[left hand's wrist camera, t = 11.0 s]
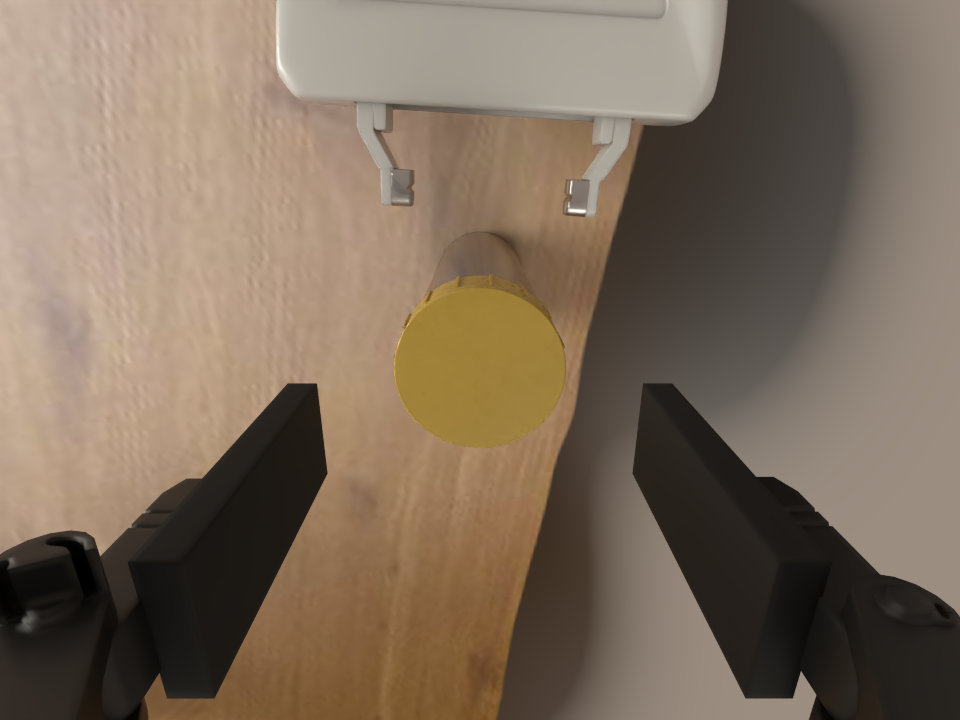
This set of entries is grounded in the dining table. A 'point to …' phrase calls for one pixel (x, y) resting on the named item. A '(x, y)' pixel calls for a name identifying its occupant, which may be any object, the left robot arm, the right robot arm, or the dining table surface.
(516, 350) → the lid
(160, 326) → the dining table surface
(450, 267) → the jar
